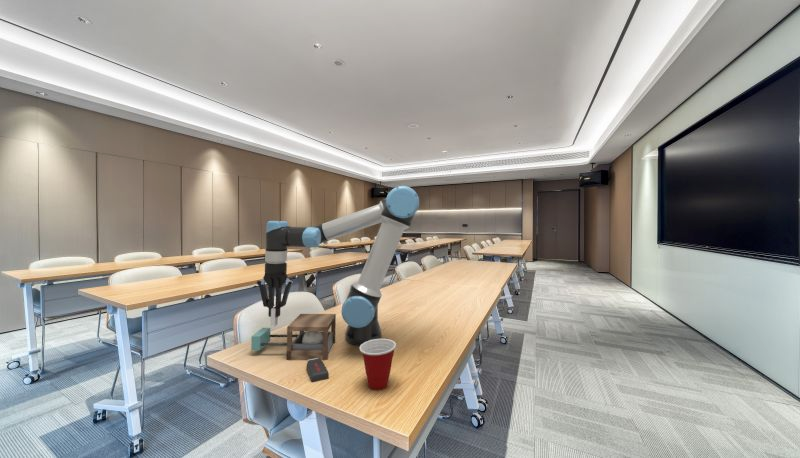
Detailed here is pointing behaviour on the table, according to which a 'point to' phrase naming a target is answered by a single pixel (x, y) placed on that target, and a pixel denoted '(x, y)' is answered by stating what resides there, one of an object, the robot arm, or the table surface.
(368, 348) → the plastic cup
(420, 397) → the table surface
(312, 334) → the geometric ball
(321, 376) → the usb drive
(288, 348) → the shelf
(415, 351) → the table surface
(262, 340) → the long-handled grey tray
